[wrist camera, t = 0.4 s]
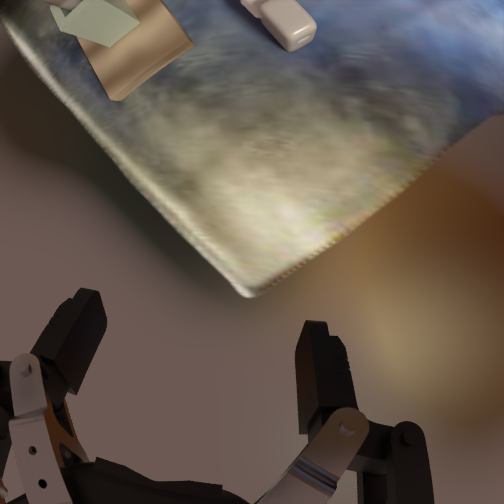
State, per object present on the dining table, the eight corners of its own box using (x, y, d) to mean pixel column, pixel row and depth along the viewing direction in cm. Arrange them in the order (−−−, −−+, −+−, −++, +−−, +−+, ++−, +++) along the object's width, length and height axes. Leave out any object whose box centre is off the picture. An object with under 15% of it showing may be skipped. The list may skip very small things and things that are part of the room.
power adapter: (230, -1, 25) (220, -22, 20) (262, -19, 24) (257, -41, 19) (285, 58, 28) (285, 43, 23) (318, 39, 27) (324, 22, 21)
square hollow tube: (97, 25, 25) (49, 7, 16) (126, 1, 24) (83, -25, 14) (109, 47, 26) (60, 30, 17) (140, 22, 25) (96, -4, 16)
